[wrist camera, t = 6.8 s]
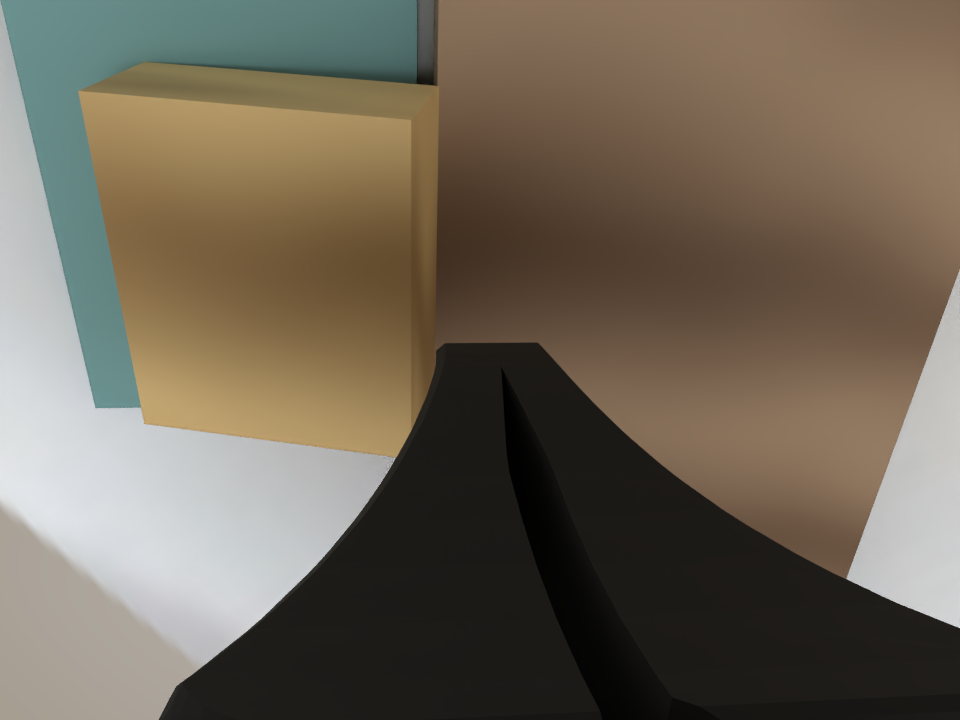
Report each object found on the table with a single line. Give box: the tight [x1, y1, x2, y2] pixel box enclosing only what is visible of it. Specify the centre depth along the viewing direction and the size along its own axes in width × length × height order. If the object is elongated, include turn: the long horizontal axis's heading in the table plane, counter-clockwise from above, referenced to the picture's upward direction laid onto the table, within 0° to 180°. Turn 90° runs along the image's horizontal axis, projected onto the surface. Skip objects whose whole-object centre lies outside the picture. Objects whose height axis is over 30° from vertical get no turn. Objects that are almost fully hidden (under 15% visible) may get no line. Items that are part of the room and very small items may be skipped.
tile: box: [78, 62, 439, 457], centre depth 15 cm, size 6×5×2 cm
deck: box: [433, 0, 960, 579], centre depth 17 cm, size 20×10×2 cm, turn 177°
